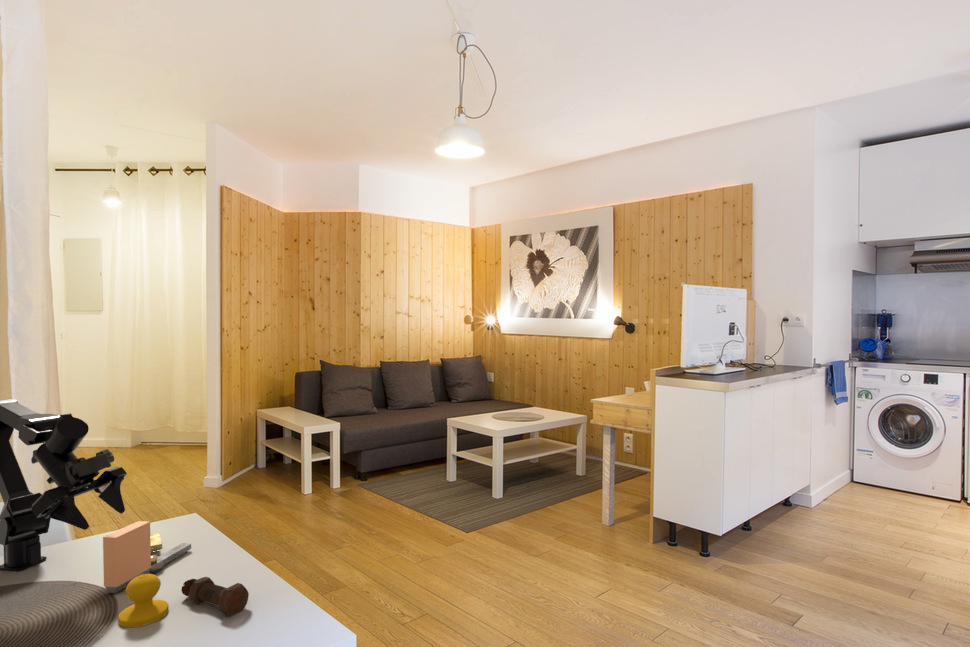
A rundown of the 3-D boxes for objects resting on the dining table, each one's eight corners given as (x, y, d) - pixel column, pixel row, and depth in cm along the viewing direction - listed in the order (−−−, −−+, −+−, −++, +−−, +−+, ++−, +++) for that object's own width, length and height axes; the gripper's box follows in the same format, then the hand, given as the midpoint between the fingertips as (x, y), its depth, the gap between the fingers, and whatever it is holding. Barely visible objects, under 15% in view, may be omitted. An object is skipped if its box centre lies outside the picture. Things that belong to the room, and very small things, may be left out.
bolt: (192, 603, 111) (241, 619, 104) (170, 601, 108) (219, 617, 100) (204, 572, 114) (253, 585, 107) (183, 569, 110) (232, 582, 103)
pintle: (144, 564, 122) (144, 558, 122) (151, 560, 124) (151, 554, 124) (152, 564, 121) (152, 559, 121) (159, 560, 123) (159, 555, 123)
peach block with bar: (101, 592, 112) (99, 536, 112) (178, 547, 134) (177, 501, 134) (119, 593, 111) (118, 537, 111) (195, 548, 133) (194, 502, 133)
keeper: (162, 559, 128) (162, 543, 128) (137, 564, 126) (136, 549, 126) (159, 547, 136) (158, 532, 136) (134, 552, 133) (134, 537, 133)
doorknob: (175, 603, 108) (157, 625, 100) (131, 607, 107) (109, 629, 99) (174, 565, 108) (157, 584, 100) (130, 568, 107) (108, 588, 99)
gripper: (44, 451, 110) (92, 511, 108) (120, 431, 128) (162, 482, 127) (10, 487, 111) (57, 547, 110) (90, 462, 129) (131, 513, 128)
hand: (106, 520), depth 118 cm, fingers open, 9 cm apart
